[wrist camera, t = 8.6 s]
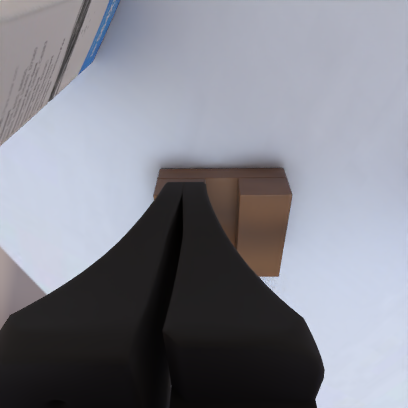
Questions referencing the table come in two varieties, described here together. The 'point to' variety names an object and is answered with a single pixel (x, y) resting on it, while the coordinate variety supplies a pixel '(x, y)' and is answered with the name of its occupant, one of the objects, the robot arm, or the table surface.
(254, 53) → the table surface
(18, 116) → the ink box
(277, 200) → the block
